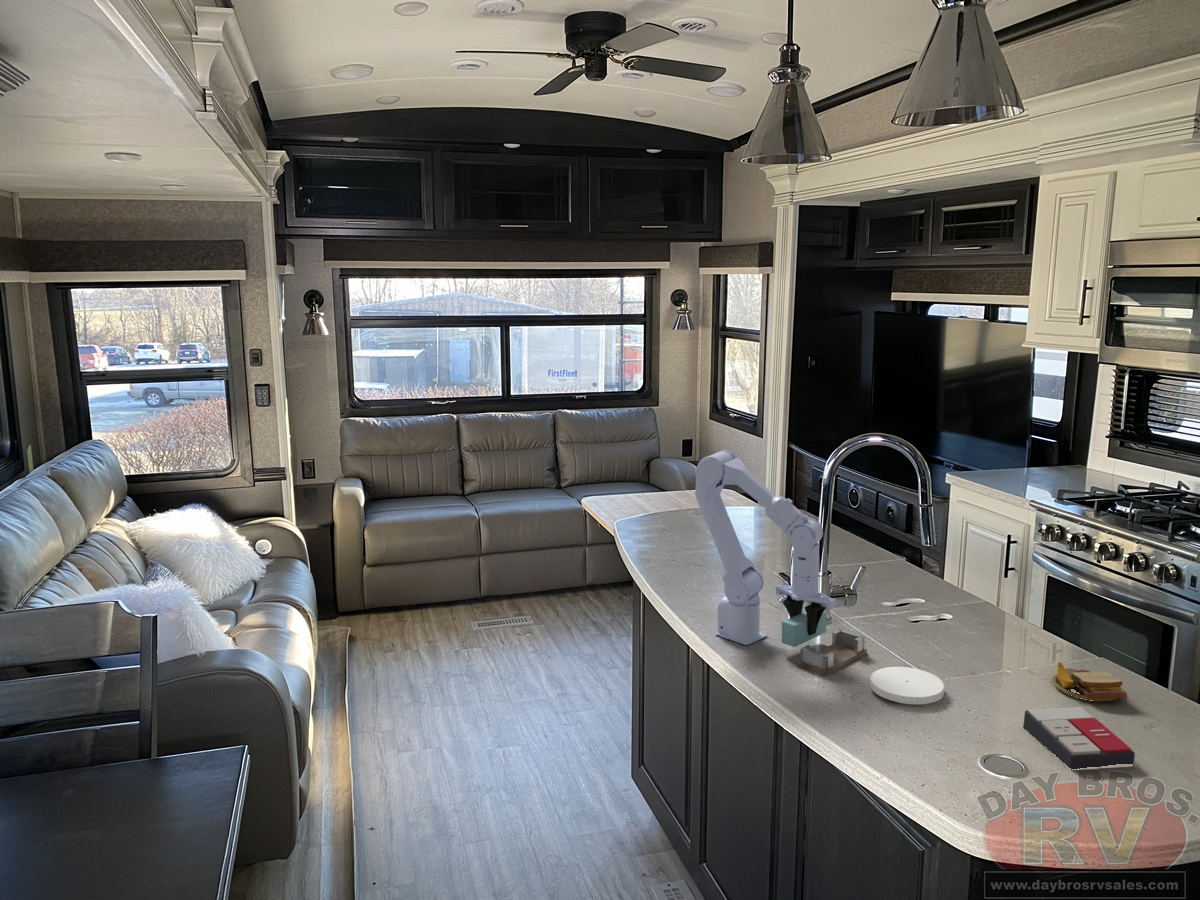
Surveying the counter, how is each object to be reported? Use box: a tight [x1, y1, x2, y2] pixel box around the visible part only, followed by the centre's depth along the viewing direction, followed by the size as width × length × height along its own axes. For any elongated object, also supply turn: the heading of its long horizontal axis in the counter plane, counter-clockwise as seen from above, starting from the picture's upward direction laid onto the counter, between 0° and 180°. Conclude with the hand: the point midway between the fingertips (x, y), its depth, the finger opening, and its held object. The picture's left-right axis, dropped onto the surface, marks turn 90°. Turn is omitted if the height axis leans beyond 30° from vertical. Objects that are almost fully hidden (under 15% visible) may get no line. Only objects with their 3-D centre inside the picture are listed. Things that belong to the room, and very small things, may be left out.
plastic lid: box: [869, 666, 945, 706], centre depth 177 cm, size 14×14×2 cm
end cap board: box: [796, 644, 868, 677], centre depth 193 cm, size 7×16×1 cm, turn 133°
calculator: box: [1022, 706, 1136, 769], centre depth 155 cm, size 11×4×15 cm
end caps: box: [799, 628, 866, 670], centre depth 193 cm, size 6×15×3 cm, turn 133°
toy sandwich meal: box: [1051, 662, 1127, 702], centre depth 176 cm, size 12×14×5 cm
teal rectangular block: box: [781, 611, 827, 648], centre depth 199 cm, size 3×12×5 cm, turn 132°
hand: (804, 631), depth 199 cm, fingers closed on teal rectangular block, 3 cm apart
